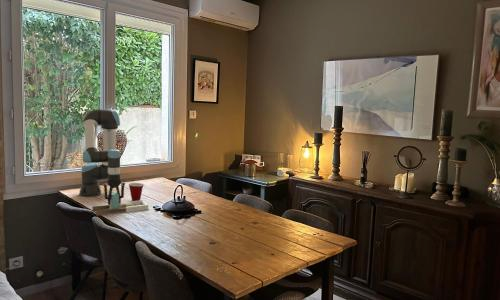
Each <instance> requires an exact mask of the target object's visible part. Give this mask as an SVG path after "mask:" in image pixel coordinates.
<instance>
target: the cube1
mask: <svg viewBox="0 0 500 300" xmlns="http://www.w3.org/2000/svg"><path fill="white" fill-rule="evenodd" d="M125 207H126V204H125V203H123V202H121V204H119V208H125Z"/></svg>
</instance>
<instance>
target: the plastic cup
mask: <svg viewBox="0 0 500 300" xmlns="http://www.w3.org/2000/svg"><path fill="white" fill-rule="evenodd" d="M144 186H145V184H144V183H140V182H129V183H128V188H129V193H130V197H131V202H132V201H141V198H142V193H143V187H144Z"/></svg>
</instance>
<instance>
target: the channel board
mask: <svg viewBox="0 0 500 300" xmlns="http://www.w3.org/2000/svg"><path fill="white" fill-rule="evenodd" d="M92 212H95V216H97V217H98V216H106V215H112V214H121V213H127V212H126V208H119V209H110V205H108V204H105V205H94V206H92Z"/></svg>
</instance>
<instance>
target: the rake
mask: <svg viewBox="0 0 500 300" xmlns="http://www.w3.org/2000/svg"><path fill="white" fill-rule="evenodd" d="M111 200H112V209H119V194H118V193H117V191H112V194H111Z"/></svg>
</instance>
